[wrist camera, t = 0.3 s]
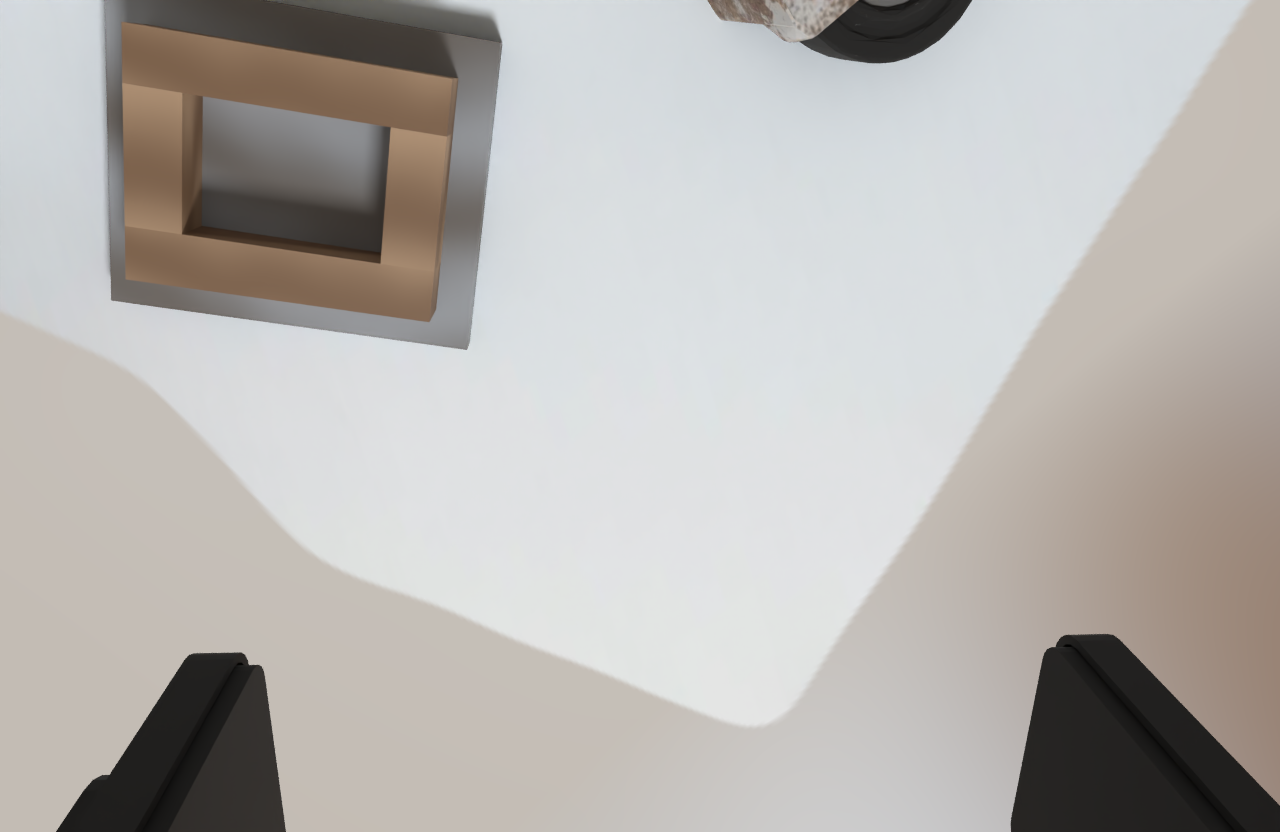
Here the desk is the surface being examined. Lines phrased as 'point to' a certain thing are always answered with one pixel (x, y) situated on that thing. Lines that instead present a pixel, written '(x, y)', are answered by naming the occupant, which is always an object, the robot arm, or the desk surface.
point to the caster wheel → (851, 24)
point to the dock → (297, 166)
